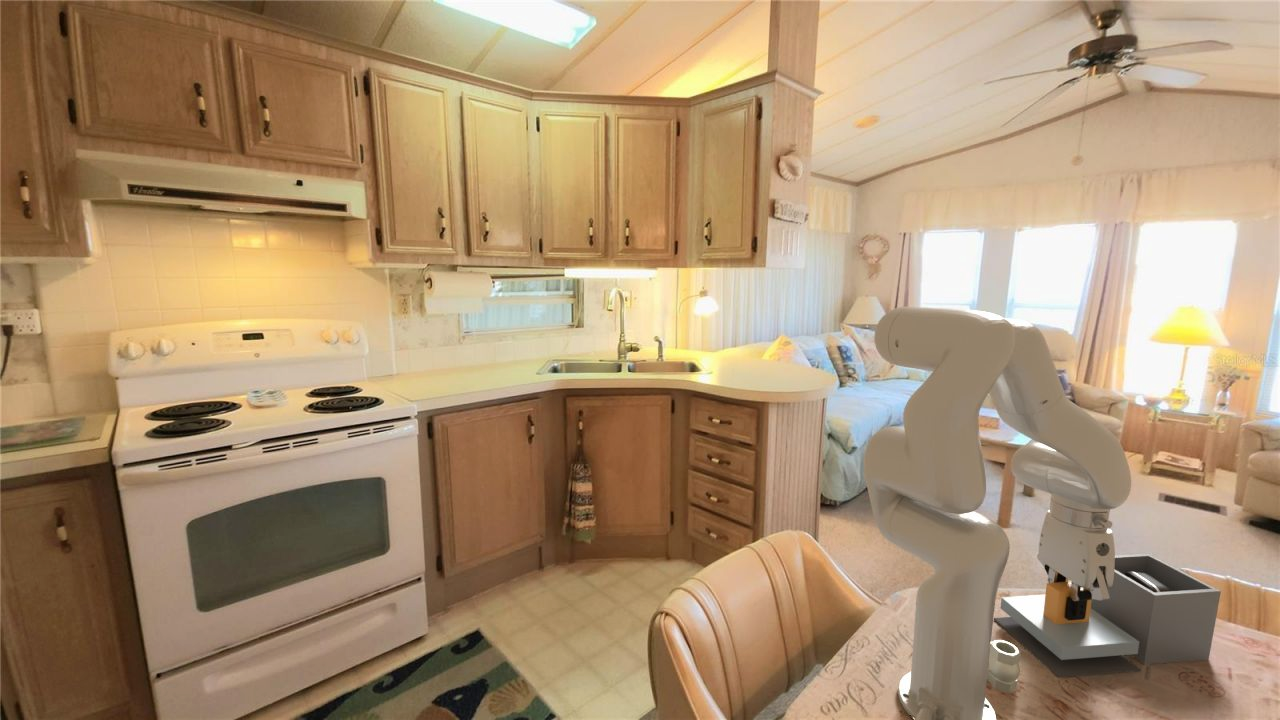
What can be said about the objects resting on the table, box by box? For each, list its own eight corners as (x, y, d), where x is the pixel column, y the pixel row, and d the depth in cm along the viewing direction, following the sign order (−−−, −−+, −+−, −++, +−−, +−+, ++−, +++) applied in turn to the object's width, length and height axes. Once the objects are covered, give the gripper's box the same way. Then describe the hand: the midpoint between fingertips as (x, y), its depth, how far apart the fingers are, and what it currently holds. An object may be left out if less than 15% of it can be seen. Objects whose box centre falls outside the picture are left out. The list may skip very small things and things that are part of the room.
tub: (1143, 664, 85) (1154, 595, 83) (1081, 619, 96) (1089, 557, 94) (1208, 659, 86) (1220, 591, 84) (1138, 615, 97) (1148, 553, 95)
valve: (1032, 695, 80) (984, 641, 92) (1036, 657, 79) (987, 607, 90) (988, 695, 80) (946, 640, 92) (992, 657, 79) (949, 606, 91)
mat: (1058, 677, 83) (1058, 675, 83) (993, 619, 97) (994, 618, 97) (1140, 671, 84) (1140, 669, 84) (1064, 615, 98) (1065, 613, 97)
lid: (1061, 659, 83) (1066, 613, 82) (1000, 608, 96) (1004, 567, 94) (1137, 653, 84) (1144, 608, 82) (1067, 603, 97) (1072, 562, 95)
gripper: (1149, 535, 78) (1133, 644, 82) (1058, 491, 94) (1047, 583, 97) (1102, 538, 78) (1088, 647, 81) (1018, 493, 94) (1009, 586, 97)
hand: (1066, 611), depth 89 cm, fingers closed on lid, 2 cm apart
